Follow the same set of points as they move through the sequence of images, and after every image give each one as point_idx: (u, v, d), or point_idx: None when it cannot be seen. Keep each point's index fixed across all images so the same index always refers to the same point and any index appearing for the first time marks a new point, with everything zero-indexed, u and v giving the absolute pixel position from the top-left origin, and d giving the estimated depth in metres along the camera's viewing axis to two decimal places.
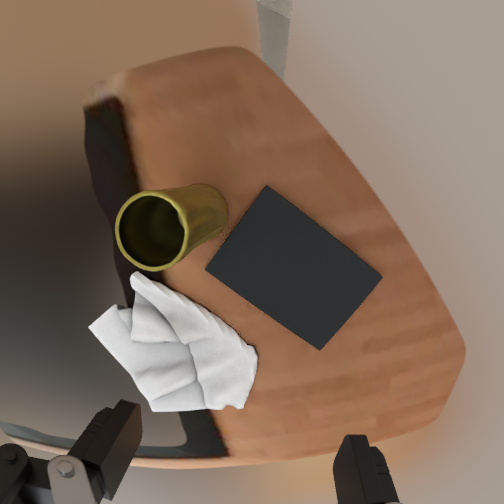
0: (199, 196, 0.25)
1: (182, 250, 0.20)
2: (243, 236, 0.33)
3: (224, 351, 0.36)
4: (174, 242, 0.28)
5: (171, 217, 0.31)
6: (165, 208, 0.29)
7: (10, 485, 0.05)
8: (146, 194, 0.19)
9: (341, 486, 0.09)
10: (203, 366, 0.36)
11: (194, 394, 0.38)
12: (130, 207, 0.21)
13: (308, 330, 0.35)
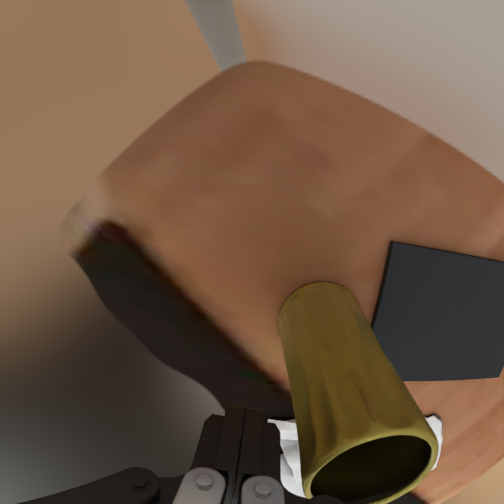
0: (362, 338, 0.14)
1: (431, 465, 0.09)
2: (390, 319, 0.22)
3: None
4: None
5: None
6: None
7: None
8: (350, 447, 0.08)
9: None
10: None
11: None
12: (310, 457, 0.10)
13: (485, 367, 0.22)
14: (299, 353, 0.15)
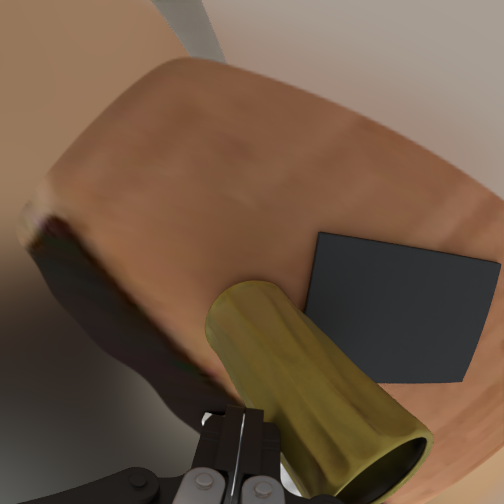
0: (321, 343, 0.14)
1: (426, 455, 0.09)
2: (322, 314, 0.22)
3: None
4: None
5: None
6: None
7: None
8: (367, 467, 0.08)
9: (238, 458, 0.10)
10: None
11: None
12: (315, 482, 0.09)
13: (443, 371, 0.22)
14: (254, 368, 0.14)
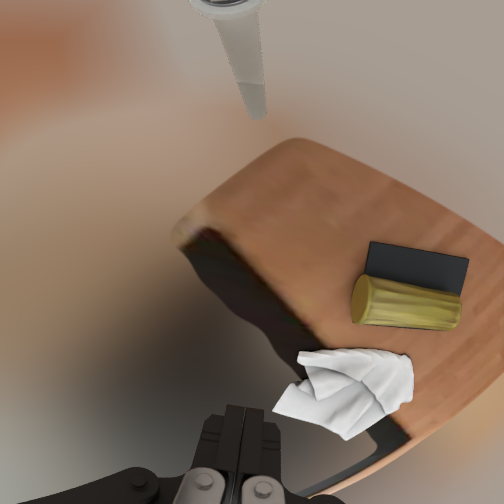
0: (418, 286, 0.36)
1: None
2: None
3: (387, 369, 0.41)
4: None
5: None
6: None
7: None
8: (460, 303, 0.35)
9: (238, 458, 0.10)
10: (377, 387, 0.41)
11: (374, 410, 0.44)
12: (453, 317, 0.34)
13: None
14: (418, 305, 0.34)
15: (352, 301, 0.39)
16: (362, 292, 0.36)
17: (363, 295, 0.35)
